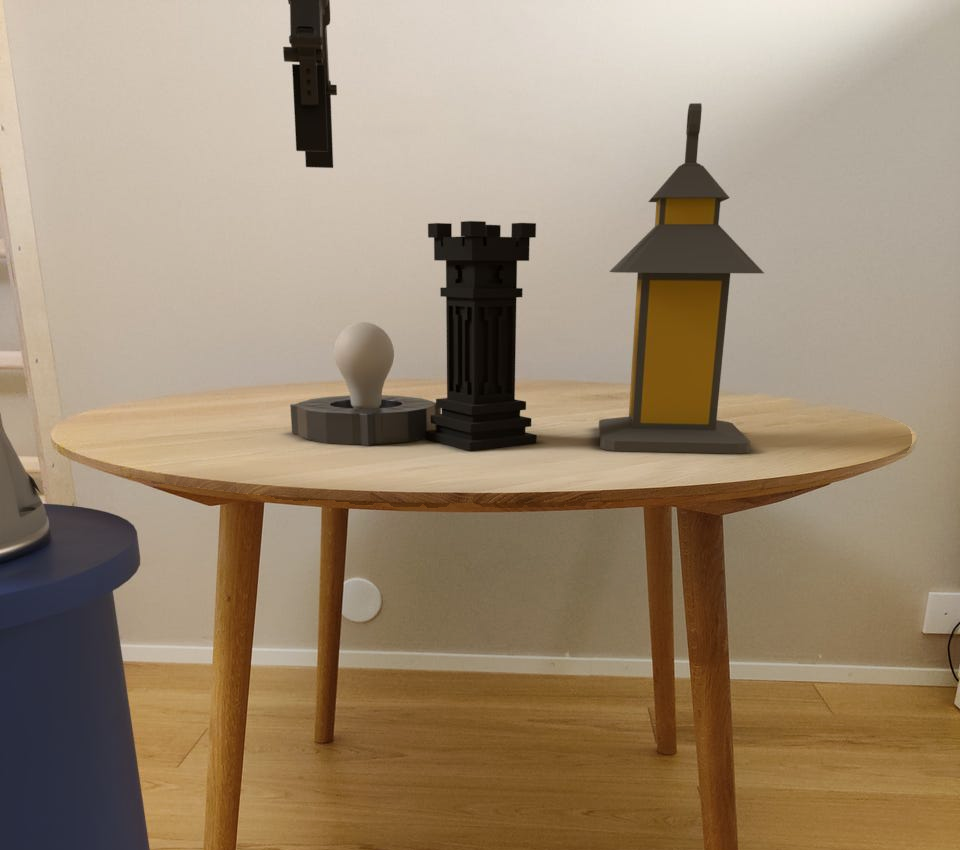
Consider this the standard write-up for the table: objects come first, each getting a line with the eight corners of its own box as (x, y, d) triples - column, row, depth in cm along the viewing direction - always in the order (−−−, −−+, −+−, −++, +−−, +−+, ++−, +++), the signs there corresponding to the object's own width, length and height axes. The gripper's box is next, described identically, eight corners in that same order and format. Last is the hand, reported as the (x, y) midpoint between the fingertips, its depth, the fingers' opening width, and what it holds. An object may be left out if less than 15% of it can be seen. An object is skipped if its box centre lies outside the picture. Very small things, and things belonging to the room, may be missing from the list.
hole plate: (368, 449, 91) (367, 417, 89) (270, 434, 99) (268, 404, 98) (461, 431, 101) (461, 402, 100) (366, 418, 109) (365, 391, 108)
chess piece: (490, 431, 101) (492, 225, 93) (536, 443, 94) (542, 223, 87) (425, 438, 96) (422, 223, 89) (469, 451, 90) (469, 220, 83)
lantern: (729, 430, 103) (761, 114, 92) (751, 454, 90) (790, 90, 79) (598, 427, 104) (614, 116, 93) (600, 450, 91) (619, 91, 80)
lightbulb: (398, 427, 103) (395, 320, 99) (393, 437, 97) (389, 324, 93) (342, 426, 103) (337, 320, 99) (333, 436, 98) (327, 323, 93)
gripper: (345, -175, 71) (354, 144, 78) (351, -65, 94) (357, 173, 102) (242, -182, 70) (261, 141, 78) (273, -69, 93) (286, 171, 101)
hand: (316, 160), depth 90 cm, fingers open, 13 cm apart
